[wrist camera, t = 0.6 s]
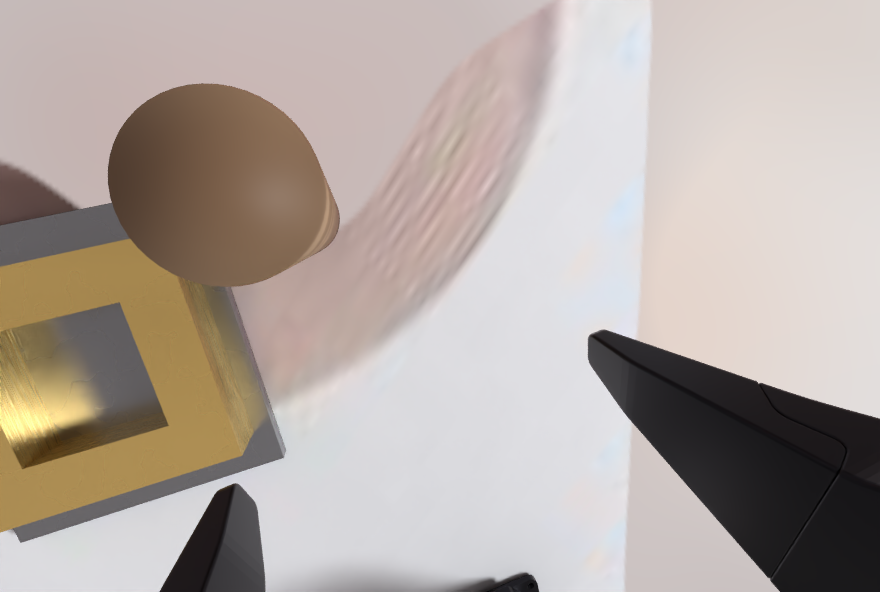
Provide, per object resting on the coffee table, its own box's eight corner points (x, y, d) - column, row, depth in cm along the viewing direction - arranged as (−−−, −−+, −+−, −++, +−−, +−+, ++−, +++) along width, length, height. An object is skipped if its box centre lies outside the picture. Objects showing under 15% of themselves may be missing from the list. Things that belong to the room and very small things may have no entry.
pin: (348, 245, 22) (345, 260, 9) (274, 263, 22) (151, 308, 8) (328, 172, 22) (292, 68, 8) (251, 188, 21) (73, 103, 7)
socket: (285, 450, 23) (275, 484, 20) (32, 531, 21) (-24, 584, 18) (196, 188, 20) (168, 180, 17) (-108, 250, 18) (-205, 254, 15)
